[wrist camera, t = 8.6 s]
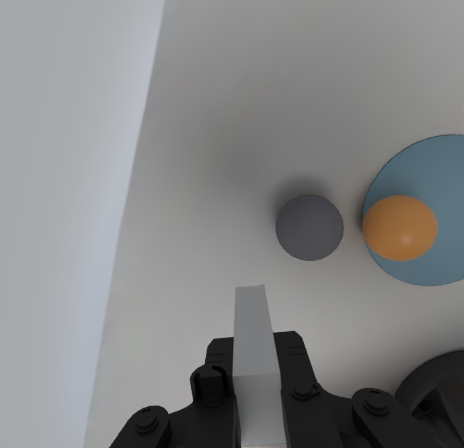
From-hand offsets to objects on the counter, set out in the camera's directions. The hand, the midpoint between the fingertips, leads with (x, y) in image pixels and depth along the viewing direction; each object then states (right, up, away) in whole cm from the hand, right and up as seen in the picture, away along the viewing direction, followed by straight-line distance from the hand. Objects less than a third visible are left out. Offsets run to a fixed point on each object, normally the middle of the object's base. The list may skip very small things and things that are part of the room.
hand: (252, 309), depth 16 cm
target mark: (+18, +5, +12) cm, 22 cm away
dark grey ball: (+5, +4, +9) cm, 12 cm away
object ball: (+13, +4, +9) cm, 16 cm away
